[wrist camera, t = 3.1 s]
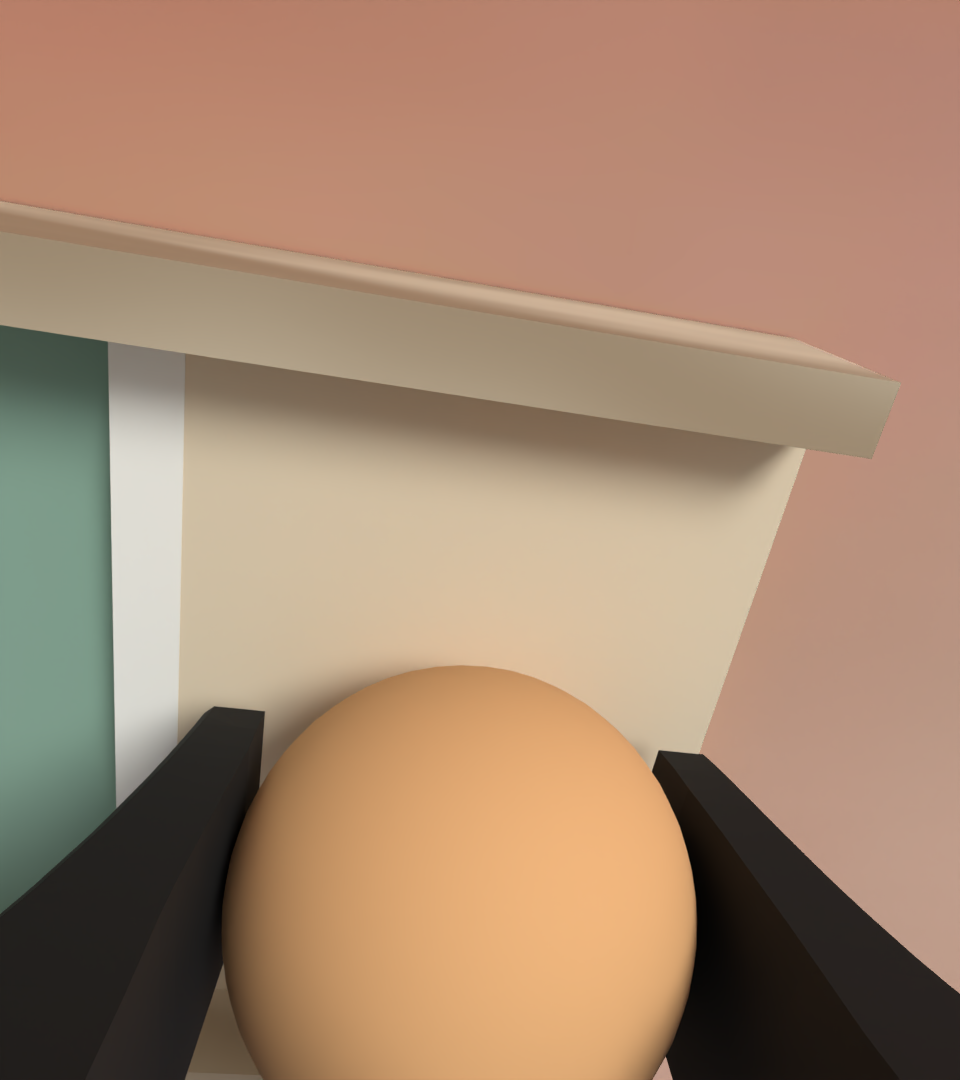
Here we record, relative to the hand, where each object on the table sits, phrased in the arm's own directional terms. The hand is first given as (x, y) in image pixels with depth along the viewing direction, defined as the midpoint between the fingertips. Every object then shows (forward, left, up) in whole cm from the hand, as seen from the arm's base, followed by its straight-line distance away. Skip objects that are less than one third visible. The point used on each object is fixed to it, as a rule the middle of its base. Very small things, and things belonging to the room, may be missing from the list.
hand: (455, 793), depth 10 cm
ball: (0, 0, -1) cm, 1 cm away
